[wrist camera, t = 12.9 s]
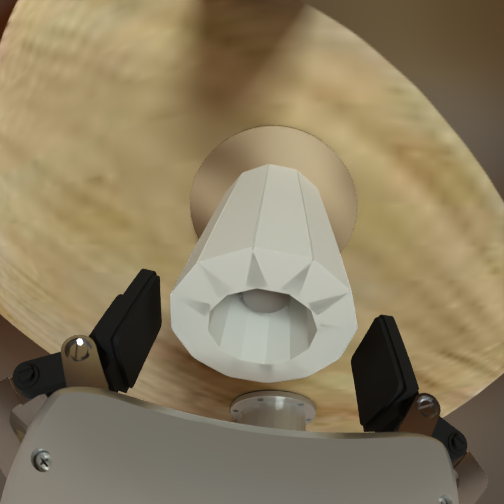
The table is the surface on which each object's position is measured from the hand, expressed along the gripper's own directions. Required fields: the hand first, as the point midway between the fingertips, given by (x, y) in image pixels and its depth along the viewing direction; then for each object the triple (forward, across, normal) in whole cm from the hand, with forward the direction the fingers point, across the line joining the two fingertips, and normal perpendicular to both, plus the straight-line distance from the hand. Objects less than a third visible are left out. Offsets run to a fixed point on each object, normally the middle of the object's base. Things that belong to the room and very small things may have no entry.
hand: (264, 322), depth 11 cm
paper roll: (+10, 0, -1) cm, 10 cm away
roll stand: (+11, 0, -1) cm, 11 cm away
